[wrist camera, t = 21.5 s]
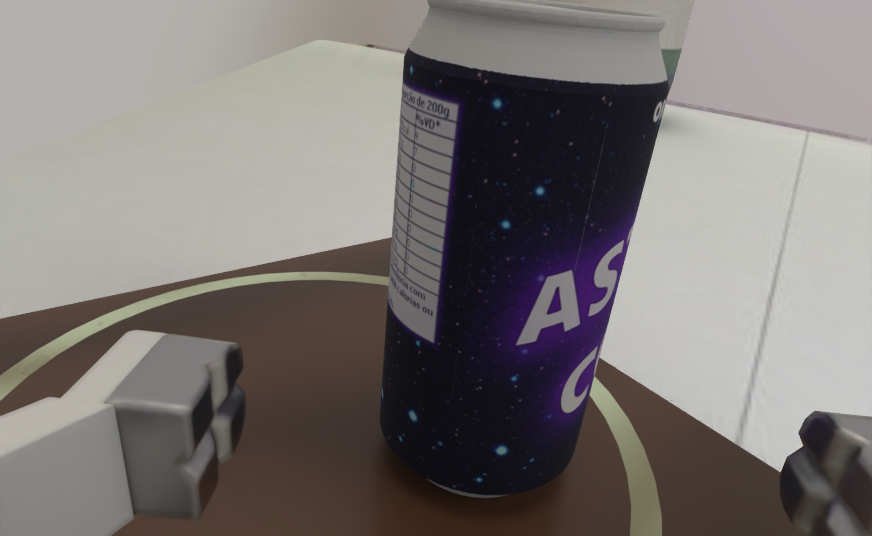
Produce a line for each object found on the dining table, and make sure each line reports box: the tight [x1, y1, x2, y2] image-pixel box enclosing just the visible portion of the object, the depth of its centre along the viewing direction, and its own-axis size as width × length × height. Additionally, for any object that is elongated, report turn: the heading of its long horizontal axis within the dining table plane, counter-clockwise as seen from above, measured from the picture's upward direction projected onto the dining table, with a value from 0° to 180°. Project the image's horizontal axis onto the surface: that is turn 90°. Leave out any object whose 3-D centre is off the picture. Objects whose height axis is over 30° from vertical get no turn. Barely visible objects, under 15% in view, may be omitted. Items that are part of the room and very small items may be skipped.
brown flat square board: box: [0, 238, 806, 536], centre depth 18 cm, size 22×22×2 cm
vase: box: [543, 0, 694, 93], centre depth 70 cm, size 17×17×24 cm
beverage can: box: [380, 0, 669, 498], centre depth 15 cm, size 6×6×12 cm
